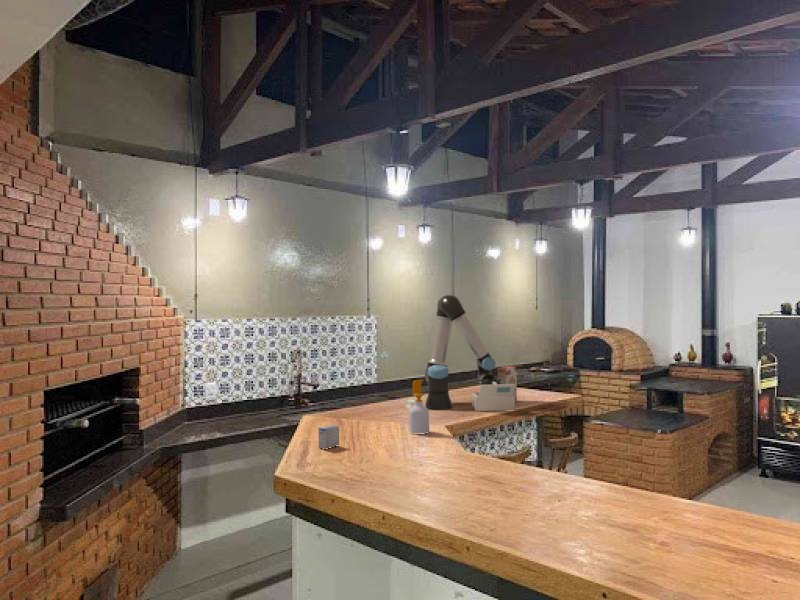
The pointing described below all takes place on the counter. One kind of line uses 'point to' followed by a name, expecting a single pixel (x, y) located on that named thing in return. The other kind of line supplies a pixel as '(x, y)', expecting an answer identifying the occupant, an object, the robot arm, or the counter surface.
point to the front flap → (497, 390)
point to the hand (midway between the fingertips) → (495, 385)
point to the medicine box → (328, 436)
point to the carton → (492, 402)
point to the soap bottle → (418, 412)
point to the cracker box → (509, 377)
